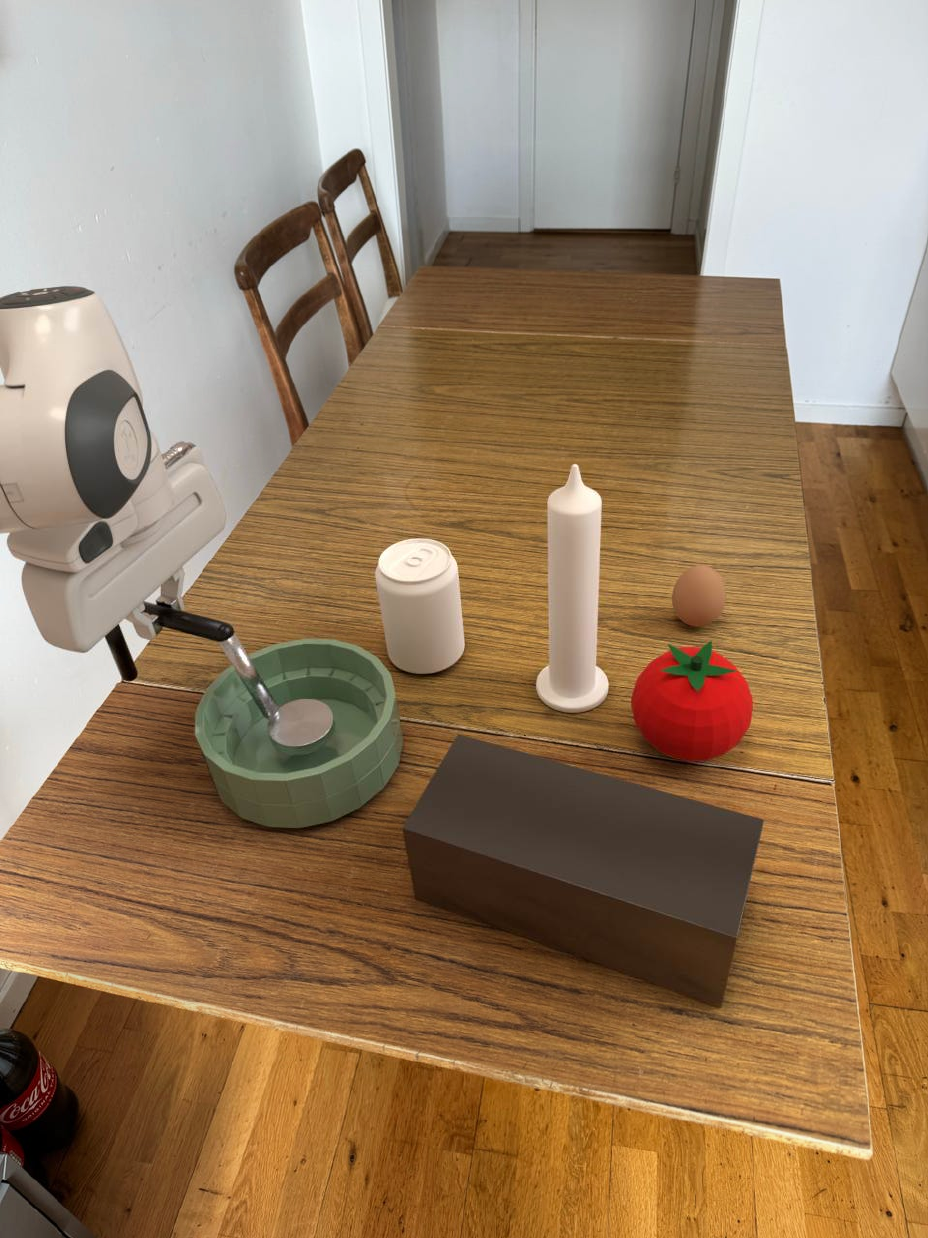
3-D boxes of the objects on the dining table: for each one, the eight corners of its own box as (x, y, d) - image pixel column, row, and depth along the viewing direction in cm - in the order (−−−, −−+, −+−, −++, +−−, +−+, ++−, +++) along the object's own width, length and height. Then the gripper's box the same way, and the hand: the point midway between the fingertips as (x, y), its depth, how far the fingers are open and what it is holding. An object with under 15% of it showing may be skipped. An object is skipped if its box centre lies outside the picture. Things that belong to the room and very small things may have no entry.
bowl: (343, 859, 74) (330, 805, 70) (175, 799, 80) (152, 746, 76) (434, 716, 86) (427, 662, 82) (281, 674, 92) (267, 622, 88)
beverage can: (372, 661, 93) (356, 568, 85) (419, 618, 98) (407, 527, 90) (435, 688, 89) (423, 593, 82) (480, 643, 94) (473, 549, 87)
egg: (721, 641, 92) (729, 587, 87) (667, 635, 93) (673, 581, 89) (722, 608, 96) (730, 555, 91) (671, 603, 97) (676, 550, 93)
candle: (530, 668, 90) (524, 448, 75) (599, 660, 91) (607, 439, 75) (543, 718, 85) (539, 492, 69) (616, 708, 85) (628, 481, 69)
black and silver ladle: (347, 717, 82) (328, 625, 75) (313, 762, 78) (290, 670, 71) (144, 658, 91) (111, 571, 84) (103, 697, 86) (65, 609, 80)
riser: (721, 1008, 62) (737, 938, 56) (414, 898, 71) (401, 828, 65) (747, 892, 69) (764, 819, 63) (465, 805, 78) (458, 733, 72)
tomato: (741, 704, 85) (756, 623, 78) (750, 789, 77) (766, 707, 70) (630, 696, 86) (635, 616, 80) (627, 779, 79) (632, 698, 72)
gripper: (164, 426, 80) (204, 553, 88) (-13, 553, 65) (55, 688, 74) (222, 436, 77) (256, 565, 86) (52, 569, 63) (113, 707, 72)
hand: (162, 623), depth 80 cm, fingers closed on black and silver ladle
